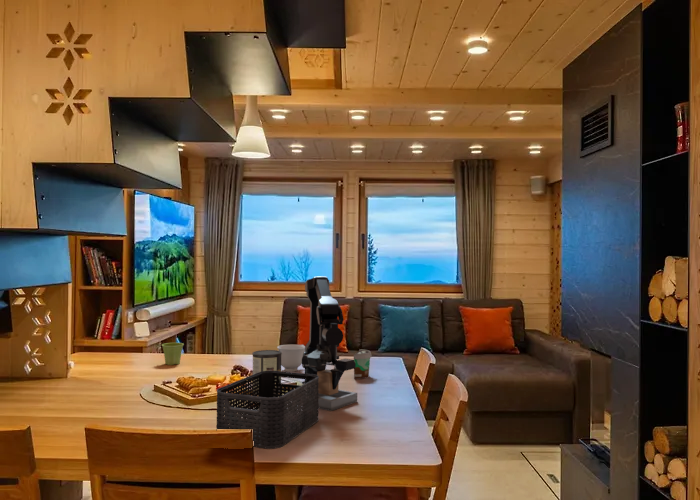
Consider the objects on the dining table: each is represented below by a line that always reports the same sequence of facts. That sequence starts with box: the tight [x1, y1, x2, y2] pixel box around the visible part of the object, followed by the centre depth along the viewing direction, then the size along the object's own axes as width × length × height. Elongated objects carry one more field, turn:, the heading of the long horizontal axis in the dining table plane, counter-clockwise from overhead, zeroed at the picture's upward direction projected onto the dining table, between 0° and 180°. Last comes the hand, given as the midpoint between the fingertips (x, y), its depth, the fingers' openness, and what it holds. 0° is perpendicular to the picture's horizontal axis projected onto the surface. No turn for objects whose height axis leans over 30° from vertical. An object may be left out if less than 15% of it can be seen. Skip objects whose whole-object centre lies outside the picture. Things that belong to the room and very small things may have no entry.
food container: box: [353, 348, 373, 380], centre depth 225 cm, size 12×6×10 cm, turn 168°
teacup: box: [276, 343, 306, 373], centre depth 237 cm, size 12×15×10 cm
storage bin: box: [215, 370, 319, 450], centre depth 154 cm, size 29×19×13 cm
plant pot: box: [161, 342, 185, 366], centre depth 247 cm, size 9×9×9 cm
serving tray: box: [318, 388, 358, 412], centre depth 183 cm, size 14×14×3 cm
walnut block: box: [317, 368, 339, 395], centre depth 183 cm, size 5×5×7 cm
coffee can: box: [252, 349, 282, 394], centre depth 197 cm, size 10×10×14 cm
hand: (327, 388), depth 183 cm, fingers closed on walnut block, 5 cm apart
